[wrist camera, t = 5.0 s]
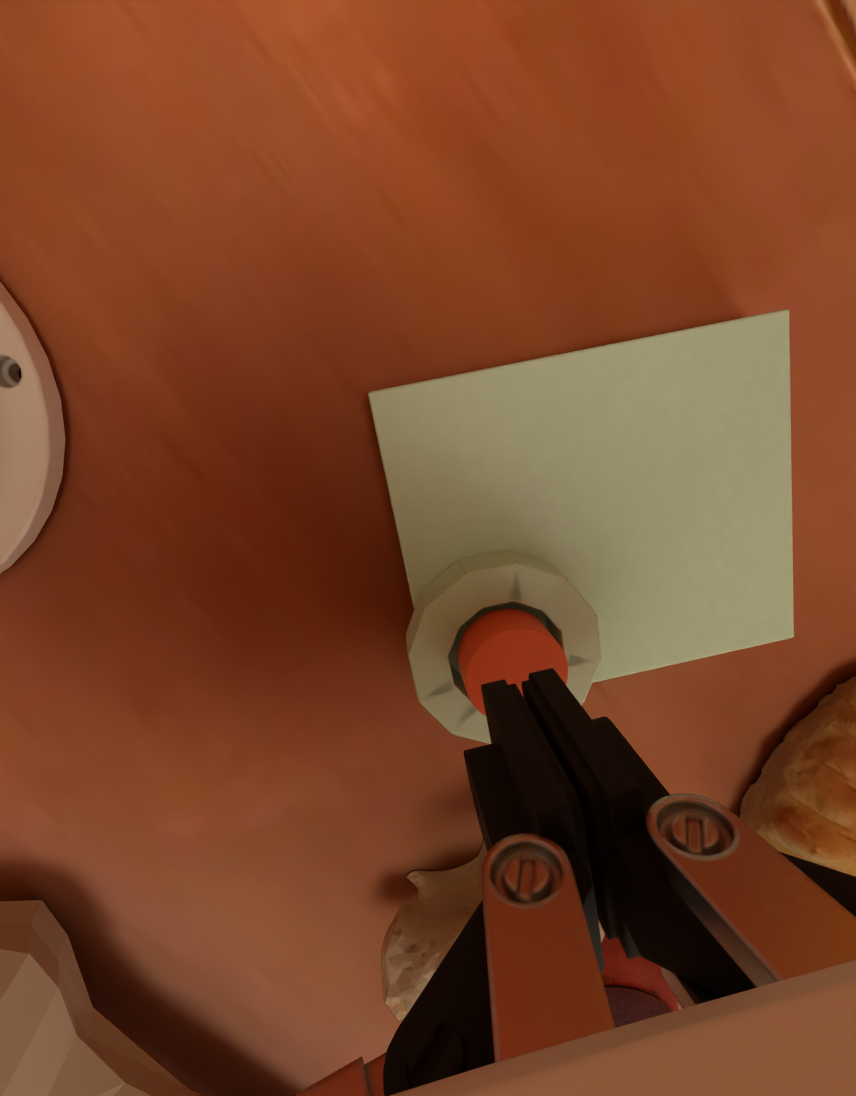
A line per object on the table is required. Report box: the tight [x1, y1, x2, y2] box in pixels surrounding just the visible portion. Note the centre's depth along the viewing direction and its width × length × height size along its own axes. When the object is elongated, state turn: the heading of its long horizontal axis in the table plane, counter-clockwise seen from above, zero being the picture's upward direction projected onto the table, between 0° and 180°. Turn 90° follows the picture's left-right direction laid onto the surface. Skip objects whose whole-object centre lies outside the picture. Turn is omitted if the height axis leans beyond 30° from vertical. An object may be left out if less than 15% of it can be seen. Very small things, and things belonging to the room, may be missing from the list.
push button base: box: [368, 309, 794, 744], centre depth 17 cm, size 13×12×4 cm
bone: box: [381, 842, 605, 1021], centre depth 18 cm, size 9×6×10 cm
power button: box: [457, 609, 568, 716], centre depth 16 cm, size 3×3×2 cm
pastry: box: [739, 676, 856, 877], centre depth 20 cm, size 9×7×4 cm
